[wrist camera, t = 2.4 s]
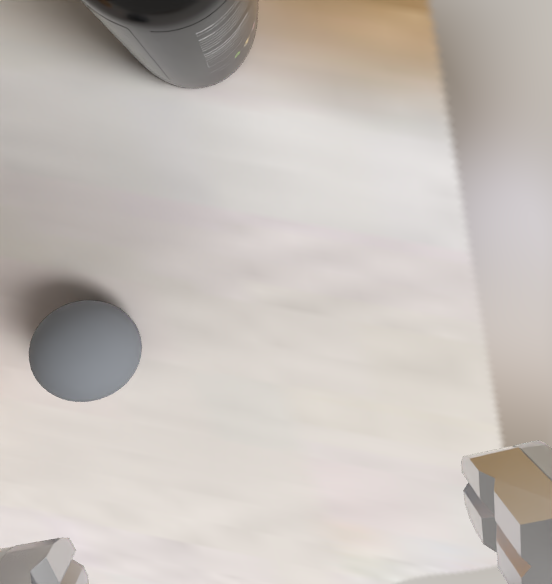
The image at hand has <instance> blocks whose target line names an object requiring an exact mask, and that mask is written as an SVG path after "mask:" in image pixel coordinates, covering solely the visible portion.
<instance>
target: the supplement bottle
mask: <svg viewBox="0 0 552 584" xmlns="http://www.w3.org/2000/svg"><path fill="white" fill-rule="evenodd" d="M81 1H82V2H83V3H84V4H85V5H86V6H87V8H88V9H89V10H90V11H91V12H92V13H93V14H94V15H95V16H96V17H97V18H98V19H99V20H100V21H101V22H102V23H103V24H104V25H105V26H106V27H107V28H108V30H109V31H110V32H111V33H112V34H113V35H114V36H115V37H116V38H117V39H118V40H119V41H120V42H121V43H122V44H123V45H124V46H125V47H126V48H127V49H128V50H129V52H130V53H131V54H132V55H133V56H134V57H135V58H136V59H137V60H138V61H139V62H140V63H141V64H142V65H143V66H144V67H145V68H147V69H148V70H149V71H150V72H151V73H153V74H154V75H155V76H157V77H158V78H160V79H162V80H163V81H166V82H168V83H170V84H173V85H175V86H179V87H184V88H203V87H208V86H212V85H215V84H217V83H219V82H221V81H223V80H225V79H226V78H228V77H229V76H230V75H232V74H233V73H234V72H235V71H236V70H237V69H238V68H239V67H240V66H241V64H242V63H243V61H244V60H245V58H246V57H247V55H248V53H249V51H250V49H251V47H252V44H253V41H254V37H255V34H256V28H257V21H258V0H81Z"/></svg>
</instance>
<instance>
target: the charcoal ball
mask: <svg viewBox="0 0 552 584" xmlns="http://www.w3.org/2000/svg"><path fill="white" fill-rule="evenodd" d="M141 351H142V344H141V337H140V334H139V331H138V329H137V327H136V325H135V323H134V322H133V320H132V319H131V318H130V317H129V316H128V315H127V314H126V313H125V312H124V311H122V310H121V309H119V308H118V307H116V306H114V305H111V304H109V303H106V302H102V301H94V300H83V301H77V302H72V303H69V304H66V305H64V306H62V307H60V308H58V309H56V310H55V311H53V312H52V313H50V314H49V315H48V316H47V317H46V318H45V319H44V320H43V321H42V322H41V323H40V325H39V326H38V327H37V329H36V331H35V332H34V334H33V337H32V339H31V342H30V348H29V362H30V366H31V370H32V372H33V375H34V376H35V378H36V380H37V381H38V382H39V384H40V385H41V386H42V387H43V388H44V389H46V390H47V391H48V392H50V393H51V394H53V395H55V396H57V397H59V398H62V399H65V400H68V401H75V402H88V401H94V400H98V399H101V398H104V397H107V396H109V395H111V394H113V393H114V392H116V391H118V390H119V389H120V388H121V387H123V386H124V385H125V384H126V383H127V382H128V381H129V379H130V378H131V377H132V376H133V374H134V373H135V371H136V369H137V367H138V364H139V361H140V357H141Z"/></svg>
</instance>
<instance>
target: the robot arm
mask: <svg viewBox="0 0 552 584" xmlns="http://www.w3.org/2000/svg"><path fill="white" fill-rule="evenodd" d="M461 467H462V473H463V475H464V476H465V478H466V479H467V481H468V482H469V483H468V484H467V486H466V487H465V489H464V490H463V492H464V500H465V506H466V509H467V512H468V515H469V518H470V521H471V523H472V525H473V527H474V529H475V531H476V533H477V534H478V536H479V538H480V539H481V541H482V543H483V544H484V545H486V546H487V547H489V548H491V549H492V550H494V551H495V552H497V561H498V568H499V570H500V572H501V573H502V574H503V576H504V578H505V579H506V581H507V583H508V584H552V448H551V447H549V446H548V445H547V444H546V443H544V442H541V441H539V440H537V441H533V442H528V443H523V444H519V445H514V446H512V447H505V448H500V449H496V450H491V451H486V452H481V453H477V454H472V455H467V456H463V458H462V461H461ZM75 551H76V549H75V548H74V546H73V544H72V542H71V540H70V539H69V538H57V539H51V540H45V541H39V542H33V543H28V544H22V545H16V546H14V547H8V548H2V549H0V584H89V581H88V575H87V572H86V570H85V568H84V566H83V565H81V564H79V563H78V562H76V561H74V560H73V556H74V554H75Z"/></svg>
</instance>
